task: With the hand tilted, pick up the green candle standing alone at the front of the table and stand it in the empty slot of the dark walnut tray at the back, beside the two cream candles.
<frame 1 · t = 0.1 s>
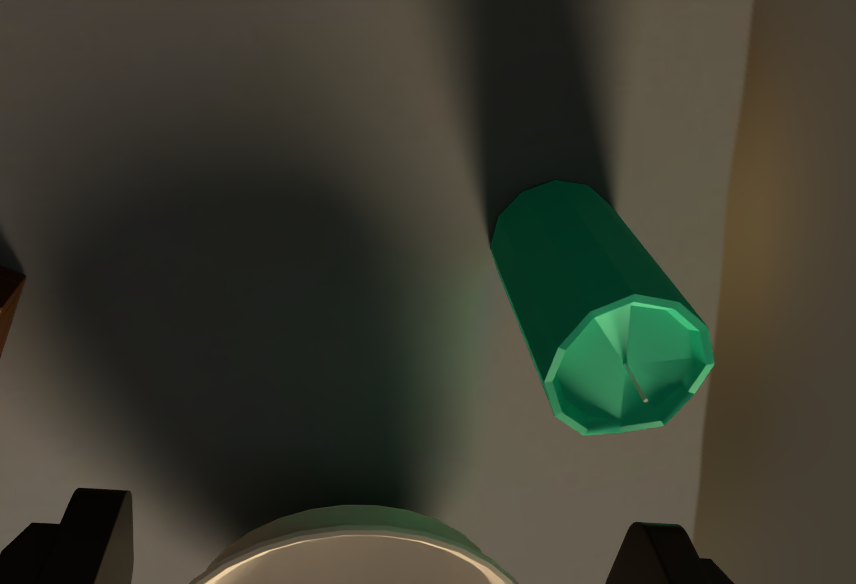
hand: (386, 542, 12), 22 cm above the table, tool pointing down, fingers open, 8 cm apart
candle: (552, 238, 35), on the table
bowl: (348, 563, 44), on the table
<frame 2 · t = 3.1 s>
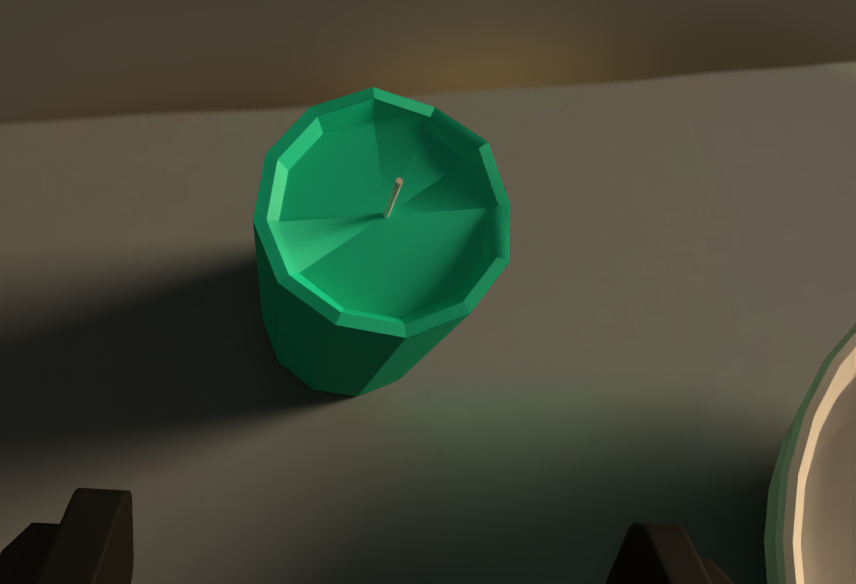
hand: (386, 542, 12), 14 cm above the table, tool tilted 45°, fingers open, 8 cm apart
candle: (347, 314, 27), on the table
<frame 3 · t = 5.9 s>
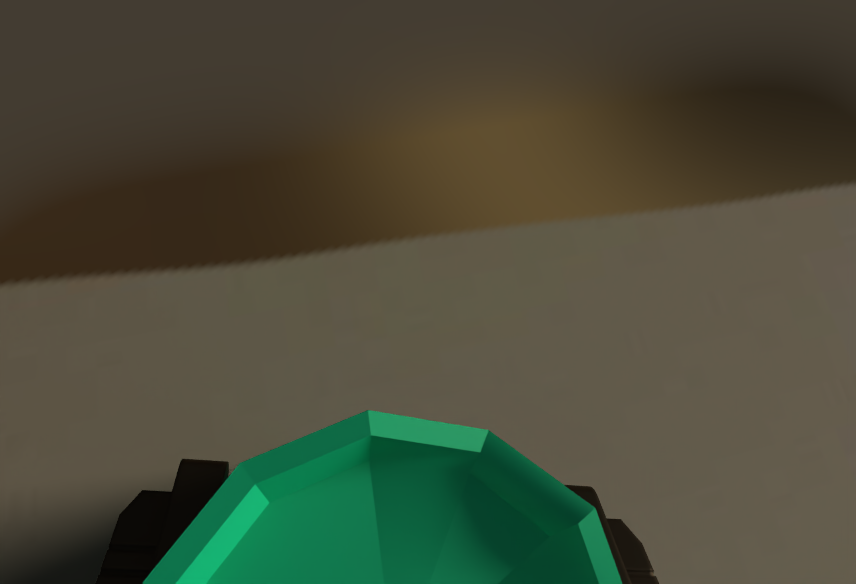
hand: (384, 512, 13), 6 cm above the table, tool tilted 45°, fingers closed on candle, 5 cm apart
candle: (334, 579, 18), on the table, touching gripper
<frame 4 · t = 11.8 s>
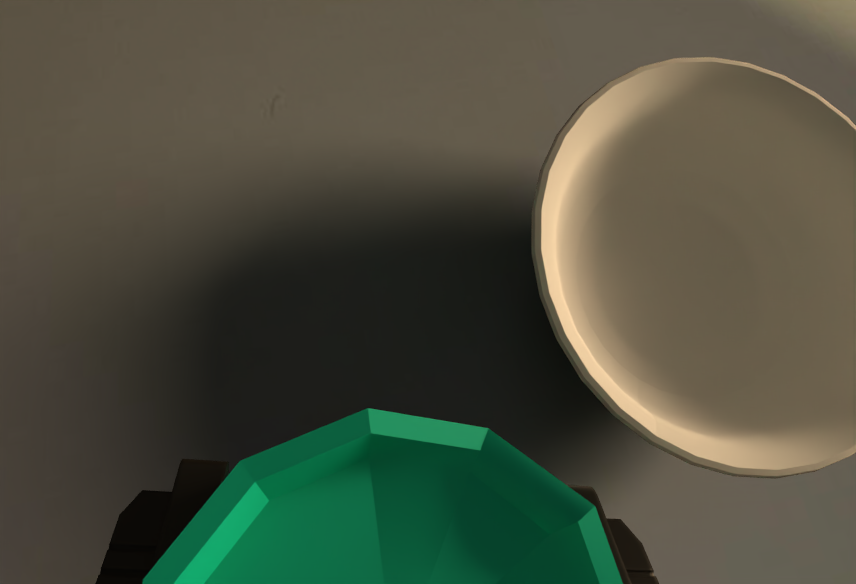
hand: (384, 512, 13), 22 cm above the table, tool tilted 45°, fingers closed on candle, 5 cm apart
candle: (334, 578, 18), point 16 cm above the table, touching gripper
bowl: (670, 288, 40), on the table
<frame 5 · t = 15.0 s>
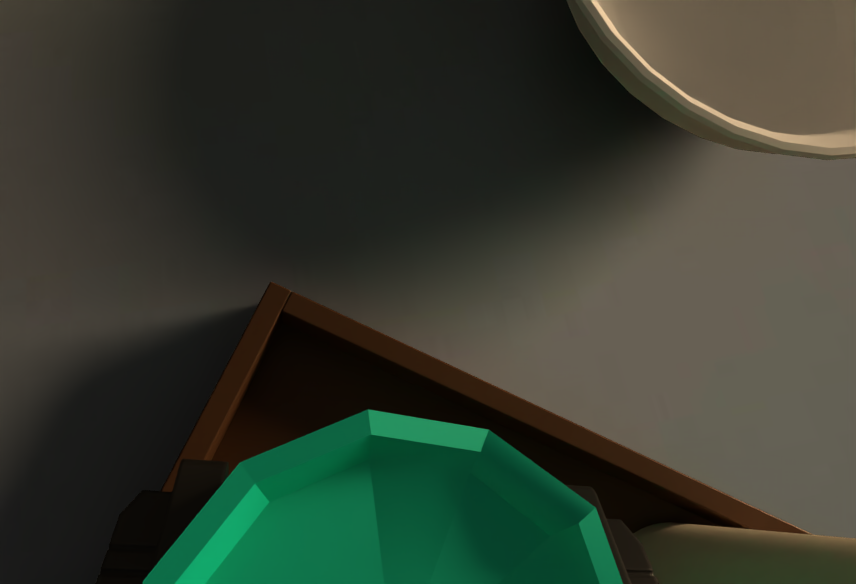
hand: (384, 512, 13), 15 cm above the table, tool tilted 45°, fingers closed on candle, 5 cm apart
candle: (334, 579, 18), point 9 cm above the table, touching gripper
bowl: (697, 22, 36), on the table
when the fingers open (7 cm above the table, at t = 17.7 s): candle stays where it is, resting on tray.
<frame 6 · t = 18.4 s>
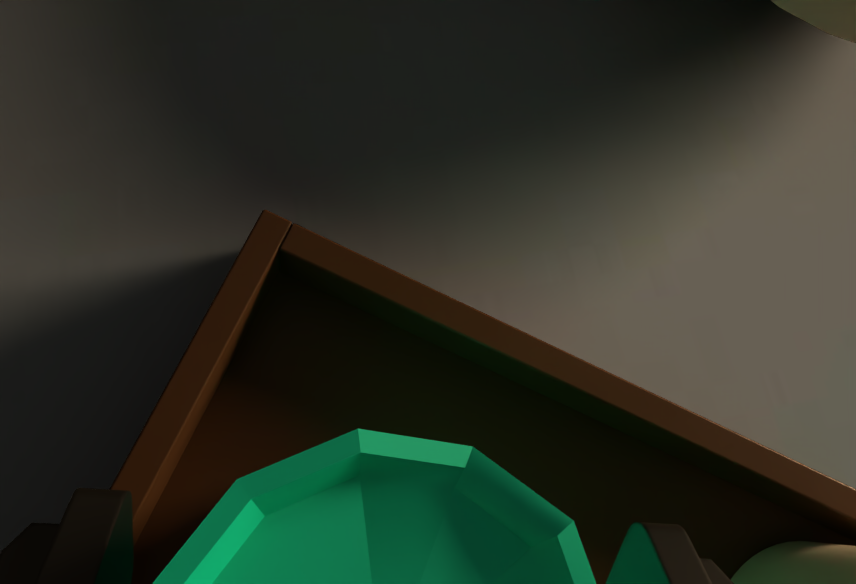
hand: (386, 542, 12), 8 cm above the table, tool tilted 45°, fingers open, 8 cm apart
candle: (330, 583, 19), point 1 cm above the table, touching tray
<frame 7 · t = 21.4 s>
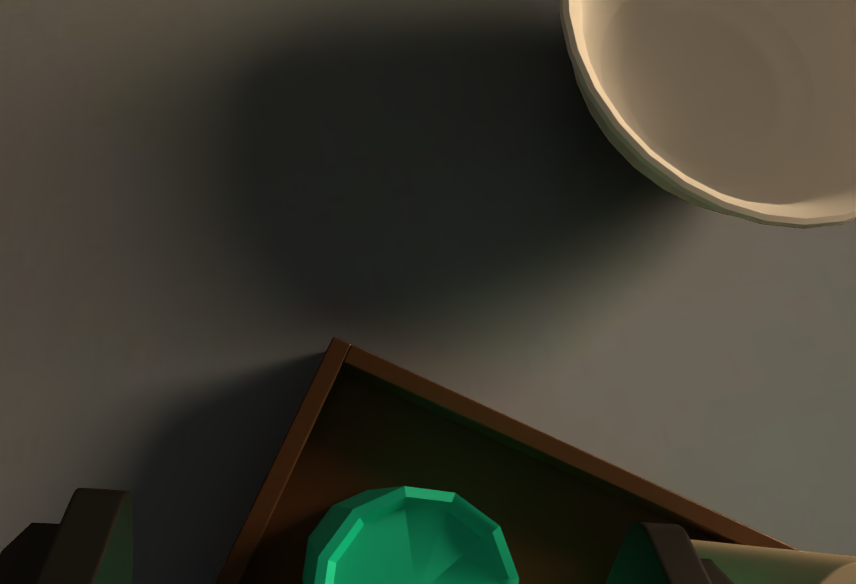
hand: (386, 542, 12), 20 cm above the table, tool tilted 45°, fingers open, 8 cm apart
candle: (375, 564, 31), point 1 cm above the table, touching tray
bowl: (692, 95, 41), on the table
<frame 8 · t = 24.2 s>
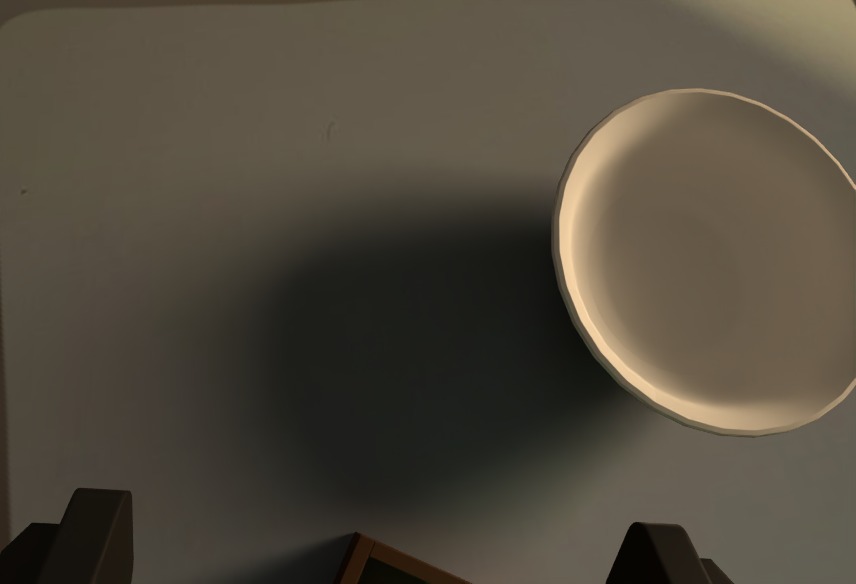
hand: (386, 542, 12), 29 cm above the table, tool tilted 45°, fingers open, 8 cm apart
bowl: (667, 283, 47), on the table
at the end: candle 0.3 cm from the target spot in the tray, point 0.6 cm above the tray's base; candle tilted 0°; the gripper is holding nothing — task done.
